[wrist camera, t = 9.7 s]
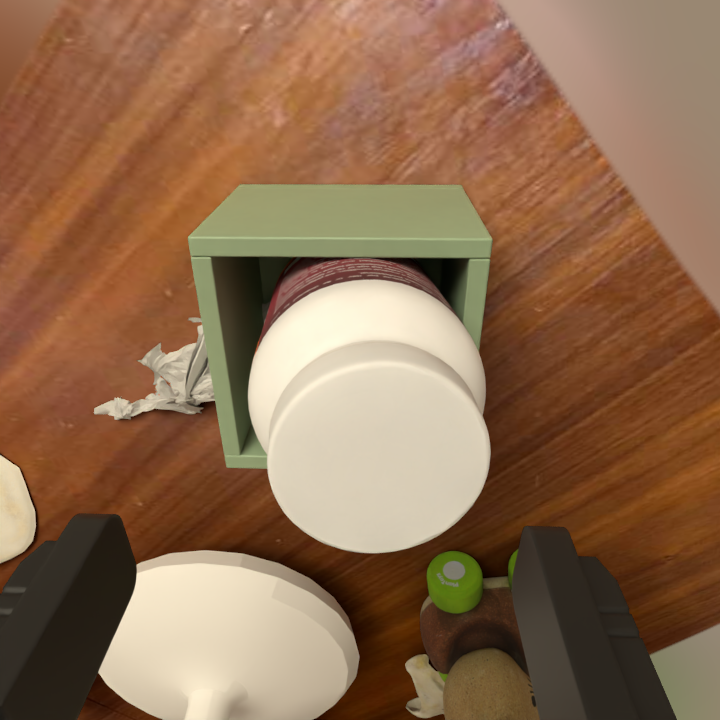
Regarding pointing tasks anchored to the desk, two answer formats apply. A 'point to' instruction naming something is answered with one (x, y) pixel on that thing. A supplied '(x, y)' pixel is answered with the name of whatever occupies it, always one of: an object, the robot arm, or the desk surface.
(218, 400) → the green open box
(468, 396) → the pill bottle
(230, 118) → the desk surface
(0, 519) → the fried egg
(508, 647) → the toy car
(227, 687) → the vase
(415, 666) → the bone
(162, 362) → the paper
